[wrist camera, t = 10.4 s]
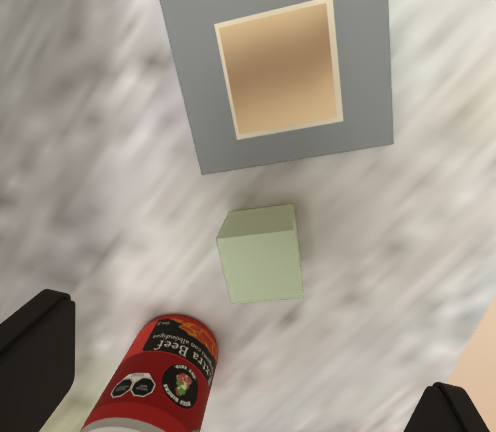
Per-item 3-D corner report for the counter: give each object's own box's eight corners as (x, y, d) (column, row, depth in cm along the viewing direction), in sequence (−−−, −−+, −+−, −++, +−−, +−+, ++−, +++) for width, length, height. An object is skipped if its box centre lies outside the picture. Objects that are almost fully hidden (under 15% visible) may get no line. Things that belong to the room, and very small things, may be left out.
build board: (388, 141, 23) (393, 144, 22) (205, 170, 25) (201, 175, 24) (380, -53, 19) (386, -62, 18) (166, 2, 21) (158, -2, 20)
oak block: (326, 109, 21) (336, 117, 17) (249, 123, 22) (239, 134, 18) (317, 21, 20) (326, 2, 15) (234, 40, 21) (218, 28, 16)
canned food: (236, 347, 31) (211, 475, 21) (184, 389, 34) (140, 521, 24) (172, 296, 30) (111, 407, 20) (123, 344, 33) (48, 463, 22)
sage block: (301, 261, 27) (303, 297, 23) (240, 267, 28) (231, 303, 23) (293, 203, 25) (293, 229, 21) (228, 211, 26) (215, 239, 22)
